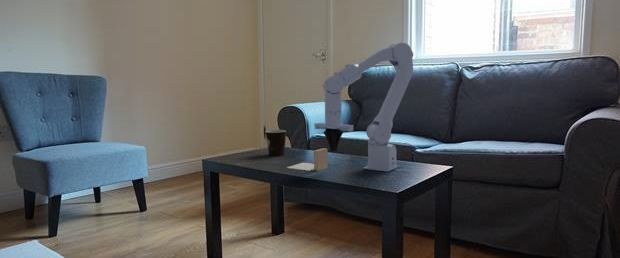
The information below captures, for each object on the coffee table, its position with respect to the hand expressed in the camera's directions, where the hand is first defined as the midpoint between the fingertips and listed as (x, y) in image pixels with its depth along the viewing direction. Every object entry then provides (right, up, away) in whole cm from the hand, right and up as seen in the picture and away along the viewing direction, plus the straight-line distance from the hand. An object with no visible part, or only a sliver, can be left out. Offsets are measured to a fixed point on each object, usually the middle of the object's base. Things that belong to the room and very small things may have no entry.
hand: (333, 150), depth 157 cm
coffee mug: (-22, -4, +32) cm, 39 cm away
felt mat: (-10, -6, +8) cm, 14 cm away
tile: (-4, -7, +4) cm, 9 cm away
